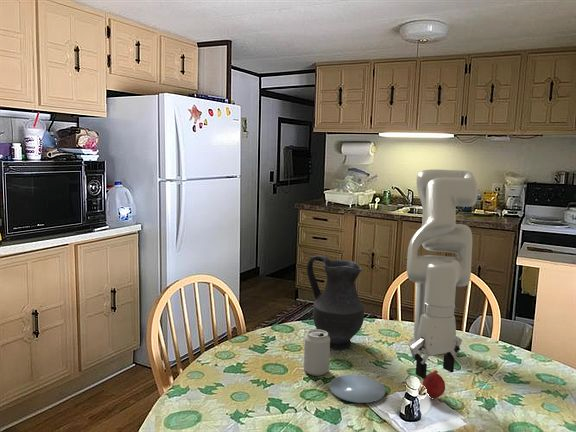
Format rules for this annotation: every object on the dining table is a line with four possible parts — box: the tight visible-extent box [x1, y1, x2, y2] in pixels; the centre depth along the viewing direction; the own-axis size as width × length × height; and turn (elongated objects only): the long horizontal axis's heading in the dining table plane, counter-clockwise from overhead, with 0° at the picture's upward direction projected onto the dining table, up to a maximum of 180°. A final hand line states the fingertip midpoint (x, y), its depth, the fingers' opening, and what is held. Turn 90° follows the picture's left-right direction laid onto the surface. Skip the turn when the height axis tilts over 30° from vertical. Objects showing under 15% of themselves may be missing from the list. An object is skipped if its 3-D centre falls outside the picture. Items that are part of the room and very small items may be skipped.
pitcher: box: [306, 254, 365, 351], centre depth 162 cm, size 17×21×30 cm
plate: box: [329, 374, 386, 404], centre depth 131 cm, size 15×15×1 cm
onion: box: [421, 369, 446, 400], centre depth 127 cm, size 6×6×8 cm
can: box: [303, 328, 331, 377], centre depth 141 cm, size 8×8×12 cm
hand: (434, 373), depth 126 cm, fingers open, 9 cm apart
